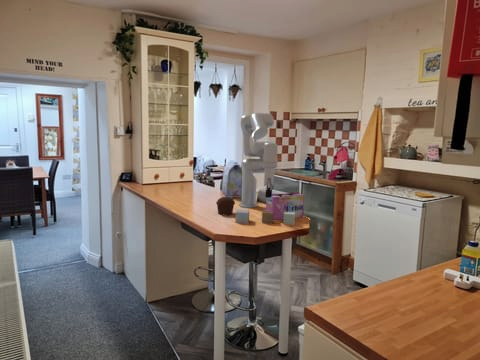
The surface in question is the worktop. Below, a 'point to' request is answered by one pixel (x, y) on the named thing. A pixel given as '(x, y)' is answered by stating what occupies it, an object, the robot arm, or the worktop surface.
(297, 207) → the gum box
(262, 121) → the robot arm
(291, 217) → the sage block
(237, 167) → the lunch bag
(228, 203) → the muffin
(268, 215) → the walnut block
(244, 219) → the base block
